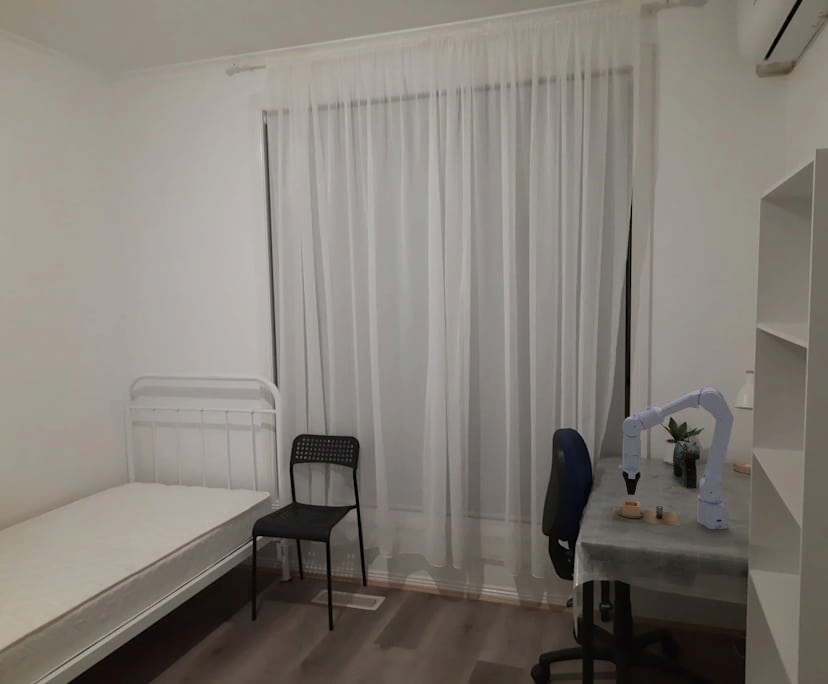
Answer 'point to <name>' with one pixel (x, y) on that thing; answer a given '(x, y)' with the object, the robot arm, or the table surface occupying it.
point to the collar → (631, 508)
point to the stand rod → (659, 512)
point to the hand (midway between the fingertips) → (631, 494)
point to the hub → (630, 515)
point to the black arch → (686, 461)
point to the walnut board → (650, 517)
